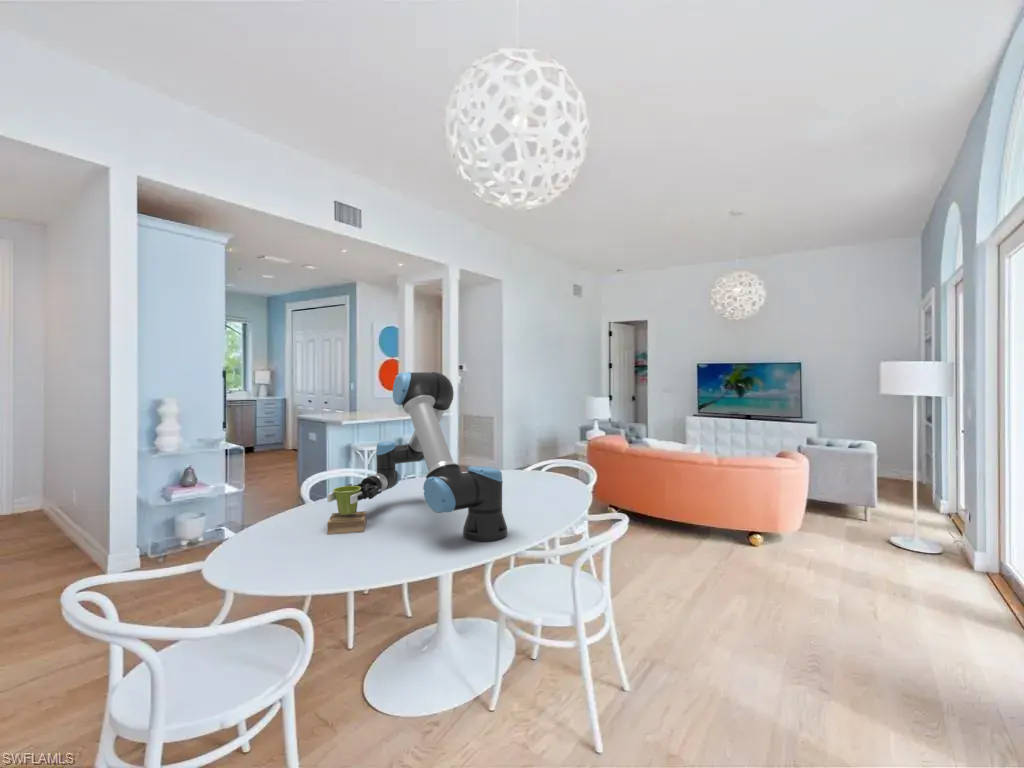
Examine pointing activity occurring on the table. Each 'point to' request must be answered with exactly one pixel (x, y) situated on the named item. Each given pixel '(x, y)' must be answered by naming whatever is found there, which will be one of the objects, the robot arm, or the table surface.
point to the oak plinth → (347, 522)
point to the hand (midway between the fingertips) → (339, 499)
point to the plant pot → (346, 499)
